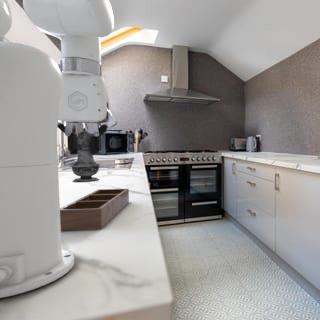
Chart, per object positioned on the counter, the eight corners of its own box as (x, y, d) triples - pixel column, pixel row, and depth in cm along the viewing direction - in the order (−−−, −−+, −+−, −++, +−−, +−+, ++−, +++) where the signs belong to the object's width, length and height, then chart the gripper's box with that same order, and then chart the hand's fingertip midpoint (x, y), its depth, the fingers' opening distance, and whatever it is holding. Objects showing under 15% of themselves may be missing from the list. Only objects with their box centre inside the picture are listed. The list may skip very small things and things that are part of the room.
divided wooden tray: (101, 228, 56) (100, 208, 56) (56, 231, 55) (55, 210, 54) (128, 202, 81) (128, 188, 80) (98, 203, 79) (98, 189, 79)
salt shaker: (106, 179, 62) (104, 128, 61) (89, 182, 56) (87, 126, 55) (83, 178, 62) (81, 128, 62) (64, 182, 57) (61, 126, 56)
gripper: (29, 64, 52) (34, 155, 54) (117, 68, 55) (119, 154, 57) (49, 73, 60) (53, 153, 61) (126, 77, 63) (128, 153, 64)
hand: (85, 153), depth 59 cm, fingers closed on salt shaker, 3 cm apart
